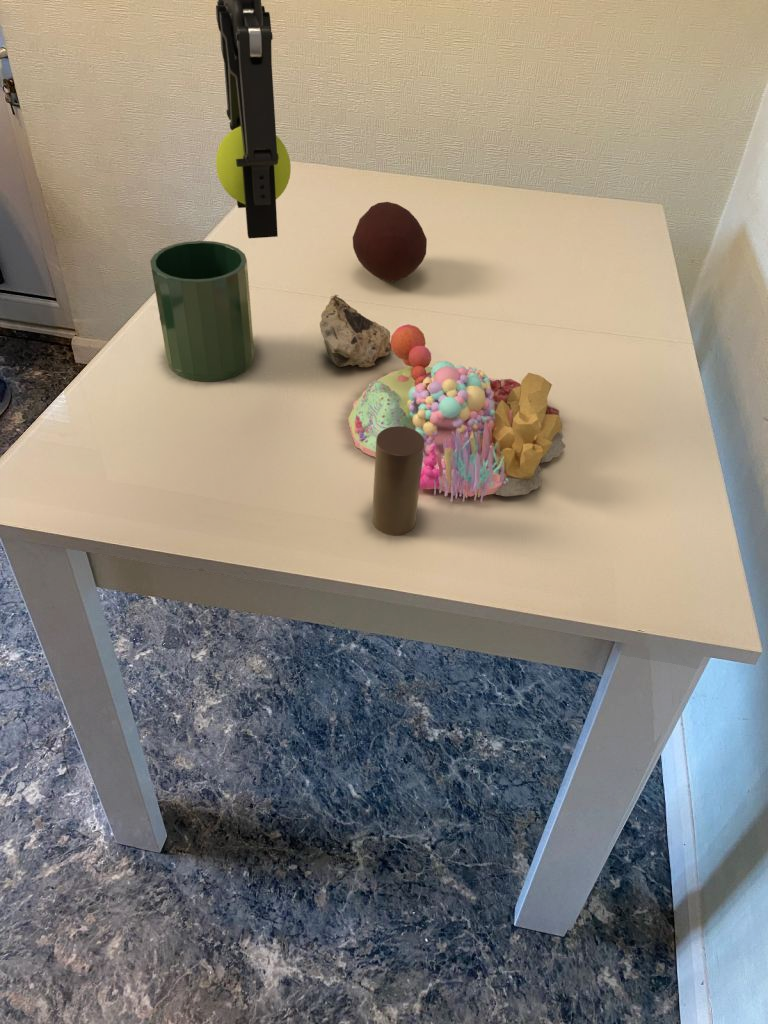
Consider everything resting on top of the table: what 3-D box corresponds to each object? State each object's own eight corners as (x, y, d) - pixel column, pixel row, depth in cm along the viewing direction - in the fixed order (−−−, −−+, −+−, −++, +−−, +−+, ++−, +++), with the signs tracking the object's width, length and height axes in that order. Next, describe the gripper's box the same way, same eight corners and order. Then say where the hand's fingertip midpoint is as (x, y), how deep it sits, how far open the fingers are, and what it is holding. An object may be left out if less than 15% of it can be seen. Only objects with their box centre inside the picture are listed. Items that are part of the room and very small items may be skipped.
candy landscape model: (569, 398, 91) (587, 331, 85) (555, 524, 74) (576, 453, 68) (375, 363, 95) (378, 297, 89) (319, 476, 78) (318, 404, 72)
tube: (171, 386, 89) (153, 285, 80) (164, 341, 96) (147, 244, 87) (260, 376, 91) (253, 277, 83) (246, 332, 99) (239, 237, 90)
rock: (351, 317, 100) (307, 293, 92) (397, 308, 97) (355, 282, 88) (350, 380, 100) (305, 362, 91) (396, 374, 96) (353, 354, 87)
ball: (224, 219, 67) (216, 139, 62) (216, 192, 72) (208, 115, 67) (297, 215, 69) (295, 137, 64) (285, 189, 73) (282, 114, 69)
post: (378, 538, 72) (384, 458, 65) (366, 508, 75) (370, 429, 68) (421, 531, 73) (431, 451, 66) (407, 502, 76) (415, 423, 69)
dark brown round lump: (352, 296, 108) (354, 226, 101) (350, 257, 118) (352, 191, 111) (427, 298, 109) (434, 228, 102) (419, 259, 118) (425, 193, 111)
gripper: (310, -66, 50) (315, 261, 65) (265, -94, 63) (278, 182, 79) (197, -70, 48) (230, 267, 64) (175, -98, 62) (207, 185, 77)
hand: (256, 219), depth 71 cm, fingers closed on ball, 7 cm apart
